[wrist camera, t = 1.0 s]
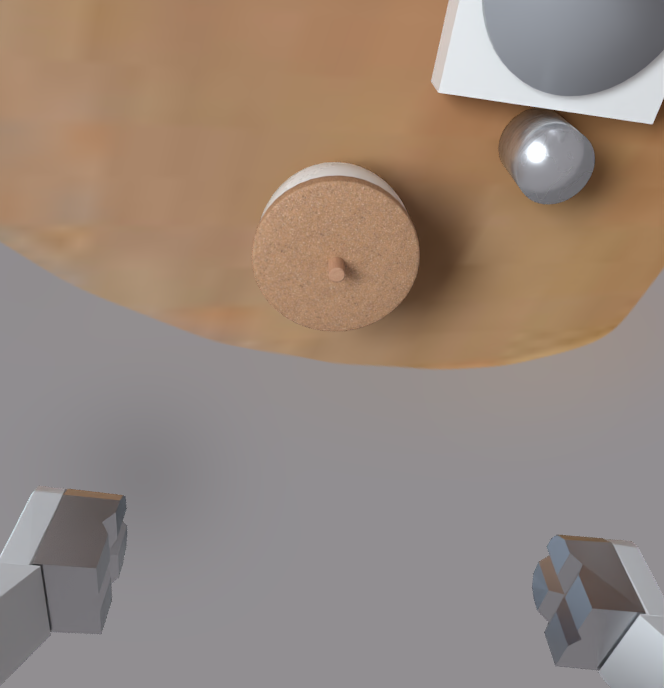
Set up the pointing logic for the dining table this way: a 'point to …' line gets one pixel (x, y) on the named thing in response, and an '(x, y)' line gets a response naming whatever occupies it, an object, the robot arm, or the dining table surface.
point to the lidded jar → (335, 248)
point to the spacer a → (546, 156)
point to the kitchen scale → (556, 55)
